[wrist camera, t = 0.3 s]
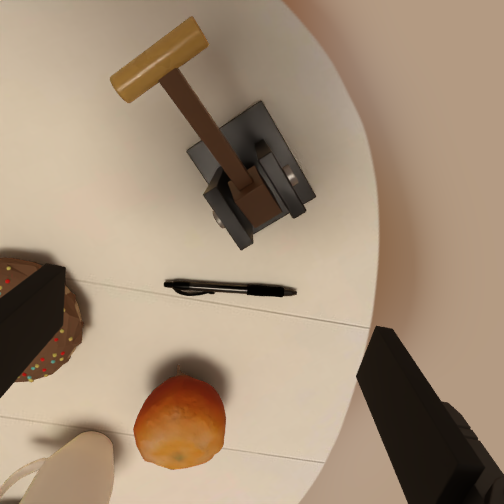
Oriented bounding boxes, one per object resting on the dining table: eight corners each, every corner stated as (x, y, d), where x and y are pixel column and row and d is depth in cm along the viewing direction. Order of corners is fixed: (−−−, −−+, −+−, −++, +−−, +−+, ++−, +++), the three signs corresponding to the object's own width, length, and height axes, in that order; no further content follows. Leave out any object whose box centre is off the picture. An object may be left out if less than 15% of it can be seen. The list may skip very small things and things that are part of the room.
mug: (129, 424, 46) (91, 525, 35) (127, 474, 49) (91, 582, 38) (33, 413, 45) (-38, 513, 34) (36, 465, 48) (-28, 572, 37)
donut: (58, 380, 43) (35, 412, 39) (-57, 322, 40) (-97, 349, 36) (115, 291, 39) (98, 315, 35) (-8, 220, 36) (-46, 236, 32)
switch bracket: (187, 149, 34) (155, 169, 22) (260, 100, 33) (268, 93, 21) (245, 235, 37) (244, 293, 25) (314, 194, 36) (348, 234, 24)
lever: (109, 70, 19) (107, 86, 17) (189, 10, 18) (195, 20, 16) (231, 218, 27) (237, 239, 25) (289, 182, 26) (301, 201, 24)
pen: (165, 291, 39) (163, 296, 38) (165, 277, 39) (162, 281, 38) (294, 299, 40) (295, 304, 39) (296, 285, 39) (297, 290, 38)
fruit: (242, 374, 44) (248, 453, 36) (191, 413, 47) (186, 493, 39) (178, 337, 40) (169, 417, 32) (127, 382, 43) (107, 465, 35)
